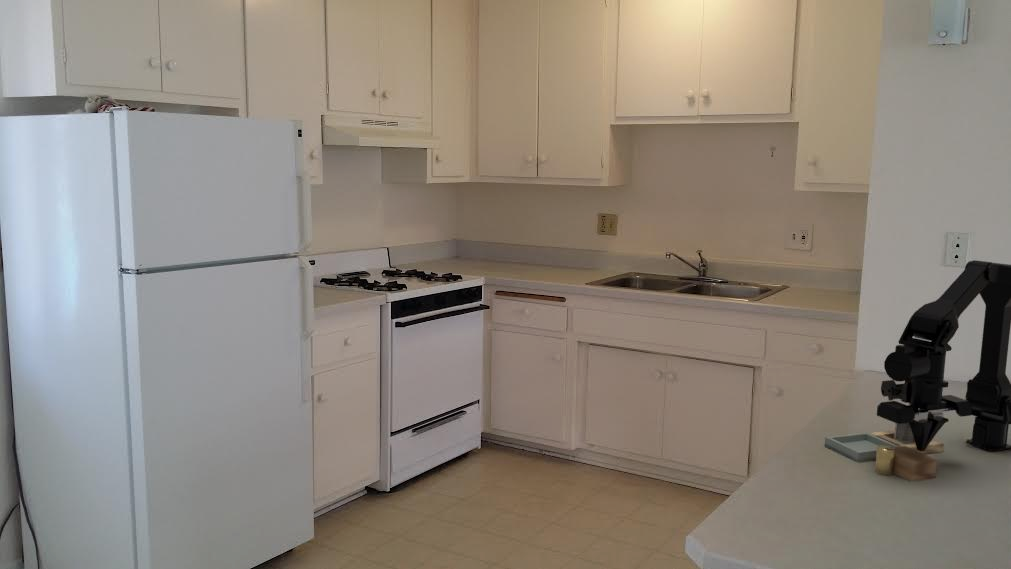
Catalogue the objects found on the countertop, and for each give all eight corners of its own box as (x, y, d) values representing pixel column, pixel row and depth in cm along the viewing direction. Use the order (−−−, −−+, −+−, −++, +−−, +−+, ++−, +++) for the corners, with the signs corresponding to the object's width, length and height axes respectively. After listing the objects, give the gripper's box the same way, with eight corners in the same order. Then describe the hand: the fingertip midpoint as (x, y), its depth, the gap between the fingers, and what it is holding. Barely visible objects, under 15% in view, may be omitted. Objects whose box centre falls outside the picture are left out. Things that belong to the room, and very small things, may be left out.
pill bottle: (921, 450, 181) (925, 412, 179) (899, 449, 181) (902, 411, 179) (911, 442, 185) (915, 405, 184) (889, 442, 185) (893, 405, 184)
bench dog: (884, 468, 169) (886, 444, 169) (896, 474, 166) (898, 449, 166) (871, 470, 168) (873, 445, 168) (883, 476, 165) (885, 451, 165)
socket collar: (906, 436, 189) (907, 428, 189) (943, 451, 180) (943, 443, 180) (869, 440, 186) (869, 432, 186) (903, 456, 177) (904, 448, 176)
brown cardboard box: (903, 464, 173) (905, 445, 172) (935, 479, 165) (937, 459, 164) (879, 467, 171) (881, 448, 170) (910, 482, 163) (912, 462, 162)
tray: (866, 441, 186) (866, 432, 185) (900, 456, 176) (901, 447, 176) (824, 446, 182) (825, 437, 182) (857, 462, 173) (858, 452, 172)
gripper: (932, 361, 178) (925, 433, 180) (859, 367, 172) (854, 442, 174) (977, 374, 167) (969, 450, 170) (901, 382, 161) (895, 460, 164)
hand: (920, 450), depth 170 cm, fingers closed
